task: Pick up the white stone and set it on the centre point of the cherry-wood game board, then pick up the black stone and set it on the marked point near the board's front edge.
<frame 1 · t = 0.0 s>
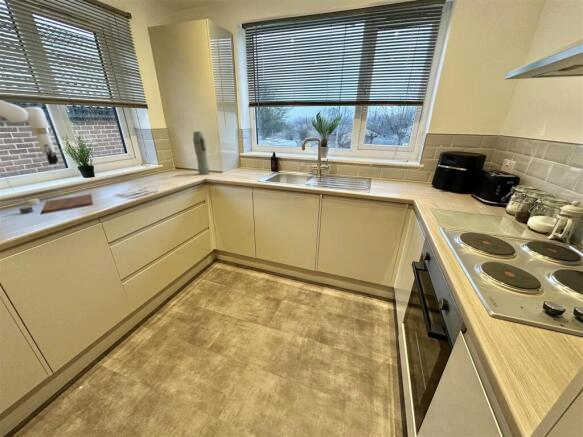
hand: (54, 162, 139), 22 cm above the countertop, tool pointing down, fingers open, 9 cm apart
knife set: (146, 190, 161), on the countertop
board: (68, 204, 137), on the countertop
black stone: (28, 215, 122), on the countertop
white stone: (36, 206, 134), on the countertop
grey statue: (204, 174, 210), on the countertop
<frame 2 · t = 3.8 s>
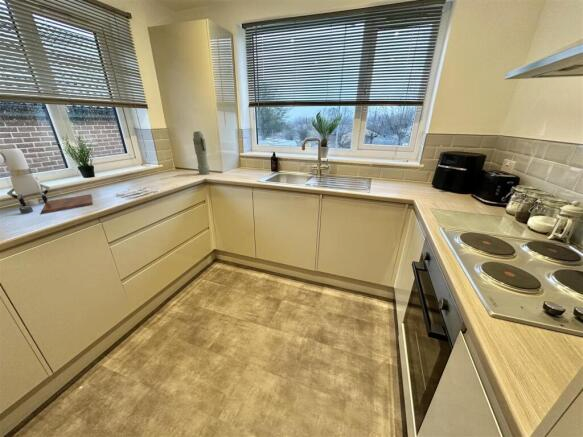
hand: (35, 203, 134), 2 cm above the countertop, tool pointing down, fingers open, 7 cm apart
nothing on the countertop moved.
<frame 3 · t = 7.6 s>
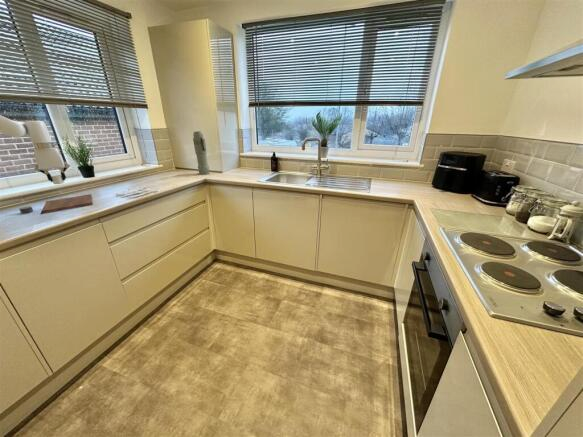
hand: (58, 180, 131), 14 cm above the countertop, tool pointing down, fingers closed on white stone, 4 cm apart
white stone: (59, 183, 132), point 12 cm above the countertop, touching gripper
everything else where it was.
when the fingers open (3 cm above the countertop, at t = 10.3 s): white stone stays where it is, resting on board.
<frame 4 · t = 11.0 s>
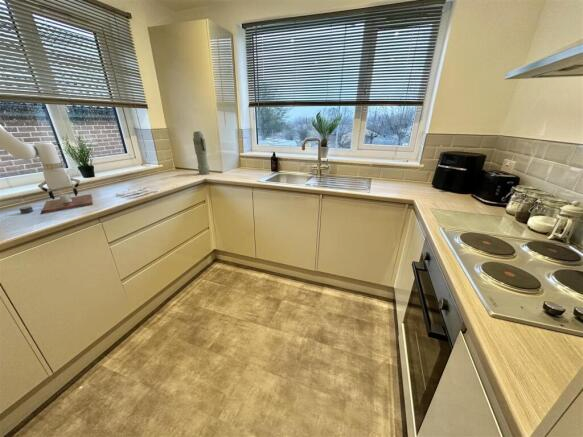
hand: (65, 197, 135), 4 cm above the countertop, tool pointing down, fingers open, 9 cm apart
white stone: (67, 201, 136), point 2 cm above the countertop, touching board
everything else where it was.
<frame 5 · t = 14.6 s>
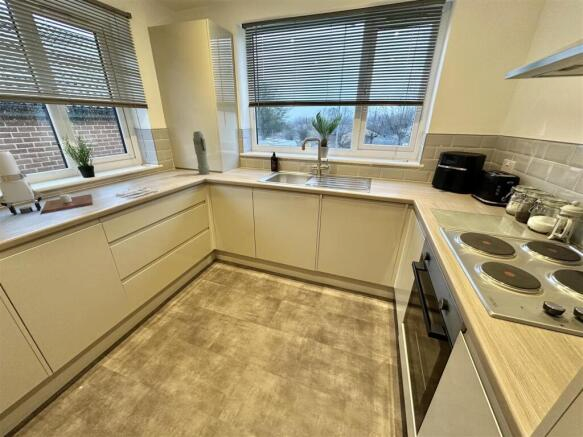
hand: (27, 212, 121), 2 cm above the countertop, tool pointing down, fingers open, 7 cm apart
nothing on the countertop moved.
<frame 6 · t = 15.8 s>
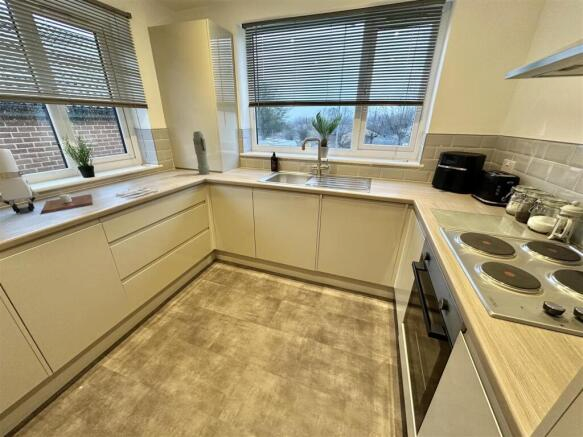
hand: (25, 211, 120), 2 cm above the countertop, tool pointing down, fingers closed on black stone, 4 cm apart
black stone: (26, 214, 121), point 1 cm above the countertop, touching gripper
everything else where it was.
when the fingers open (3 cm above the countertop, at t = 21.1 s): black stone stays where it is, resting on board.
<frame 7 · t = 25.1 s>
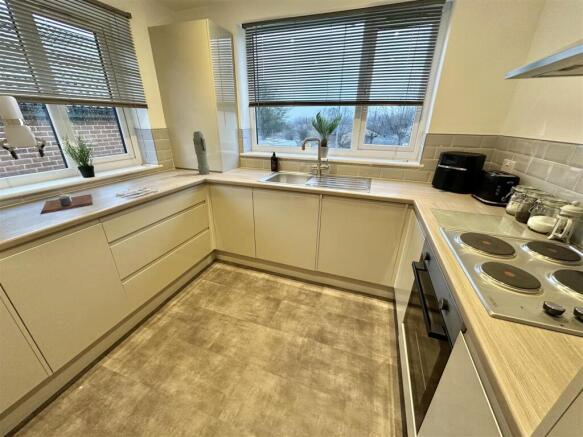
hand: (29, 158, 126), 26 cm above the countertop, tool pointing down, fingers open, 9 cm apart
black stone: (66, 204, 131), point 2 cm above the countertop, touching board
everything else where it was.
at the end: white stone 0.1 cm off-centre on the board, point 1.6 cm above the board's base; black stone 0.1 cm from the target spot on the board, point 1.6 cm above the board's base; black stone tilted 0° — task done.
